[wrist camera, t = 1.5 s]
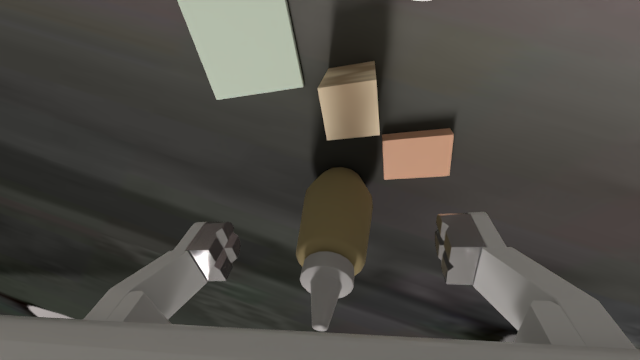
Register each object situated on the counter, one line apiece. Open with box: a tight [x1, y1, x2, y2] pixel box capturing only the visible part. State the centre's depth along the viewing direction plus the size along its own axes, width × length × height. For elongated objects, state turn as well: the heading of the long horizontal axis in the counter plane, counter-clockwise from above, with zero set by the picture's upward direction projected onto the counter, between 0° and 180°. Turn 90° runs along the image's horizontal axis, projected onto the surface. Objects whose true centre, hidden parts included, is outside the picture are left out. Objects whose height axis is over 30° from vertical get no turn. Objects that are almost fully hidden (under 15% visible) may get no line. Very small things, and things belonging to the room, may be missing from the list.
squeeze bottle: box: [296, 167, 373, 331], centre depth 27 cm, size 8×8×18 cm
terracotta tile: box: [382, 128, 454, 180], centre depth 30 cm, size 7×5×2 cm
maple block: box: [318, 61, 380, 140], centre depth 24 cm, size 4×4×7 cm
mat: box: [177, 0, 304, 100], centre depth 26 cm, size 10×10×1 cm
